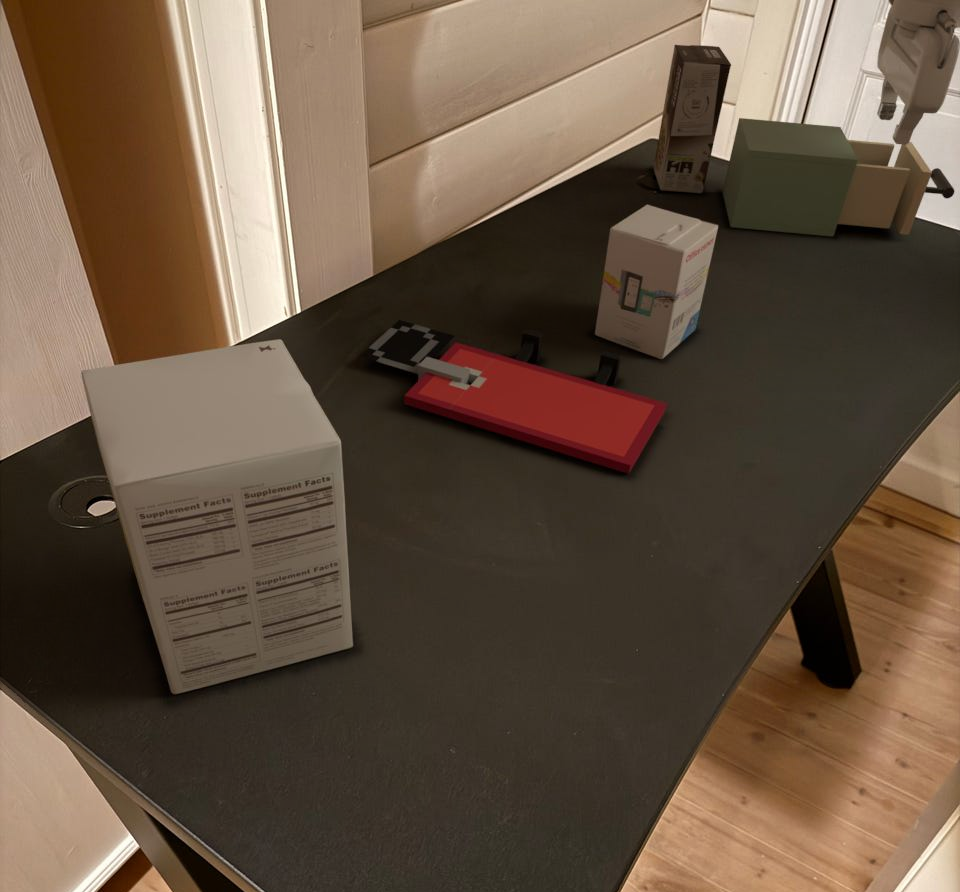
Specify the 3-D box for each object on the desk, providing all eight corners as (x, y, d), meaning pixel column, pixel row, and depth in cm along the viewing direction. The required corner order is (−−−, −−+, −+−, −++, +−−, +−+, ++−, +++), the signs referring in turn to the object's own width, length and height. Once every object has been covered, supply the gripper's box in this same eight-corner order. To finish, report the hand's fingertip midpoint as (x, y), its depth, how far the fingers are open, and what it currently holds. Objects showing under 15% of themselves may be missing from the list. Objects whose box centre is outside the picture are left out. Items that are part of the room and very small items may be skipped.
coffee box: (704, 194, 132) (732, 64, 120) (659, 191, 132) (683, 60, 120) (695, 170, 138) (721, 45, 127) (652, 168, 138) (674, 41, 127)
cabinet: (818, 200, 133) (840, 126, 126) (833, 236, 124) (858, 159, 117) (722, 191, 133) (739, 117, 126) (730, 227, 124) (749, 149, 117)
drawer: (922, 204, 131) (945, 145, 125) (943, 238, 123) (968, 175, 118) (800, 193, 132) (818, 133, 126) (813, 226, 124) (832, 163, 118)
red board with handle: (407, 320, 101) (336, 386, 91) (407, 295, 99) (334, 360, 89) (674, 397, 93) (627, 478, 84) (680, 372, 91) (633, 452, 82)
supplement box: (135, 575, 71) (76, 366, 58) (304, 537, 75) (283, 334, 63) (170, 699, 63) (109, 487, 50) (358, 648, 67) (345, 440, 54)
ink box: (629, 307, 106) (647, 201, 98) (697, 330, 103) (722, 223, 95) (592, 335, 101) (608, 226, 93) (662, 361, 98) (685, 250, 90)
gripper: (986, 26, 103) (936, 160, 112) (940, -15, 117) (899, 107, 127) (928, 21, 103) (883, 156, 113) (889, -19, 117) (852, 104, 127)
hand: (891, 130), depth 120 cm, fingers open, 8 cm apart
